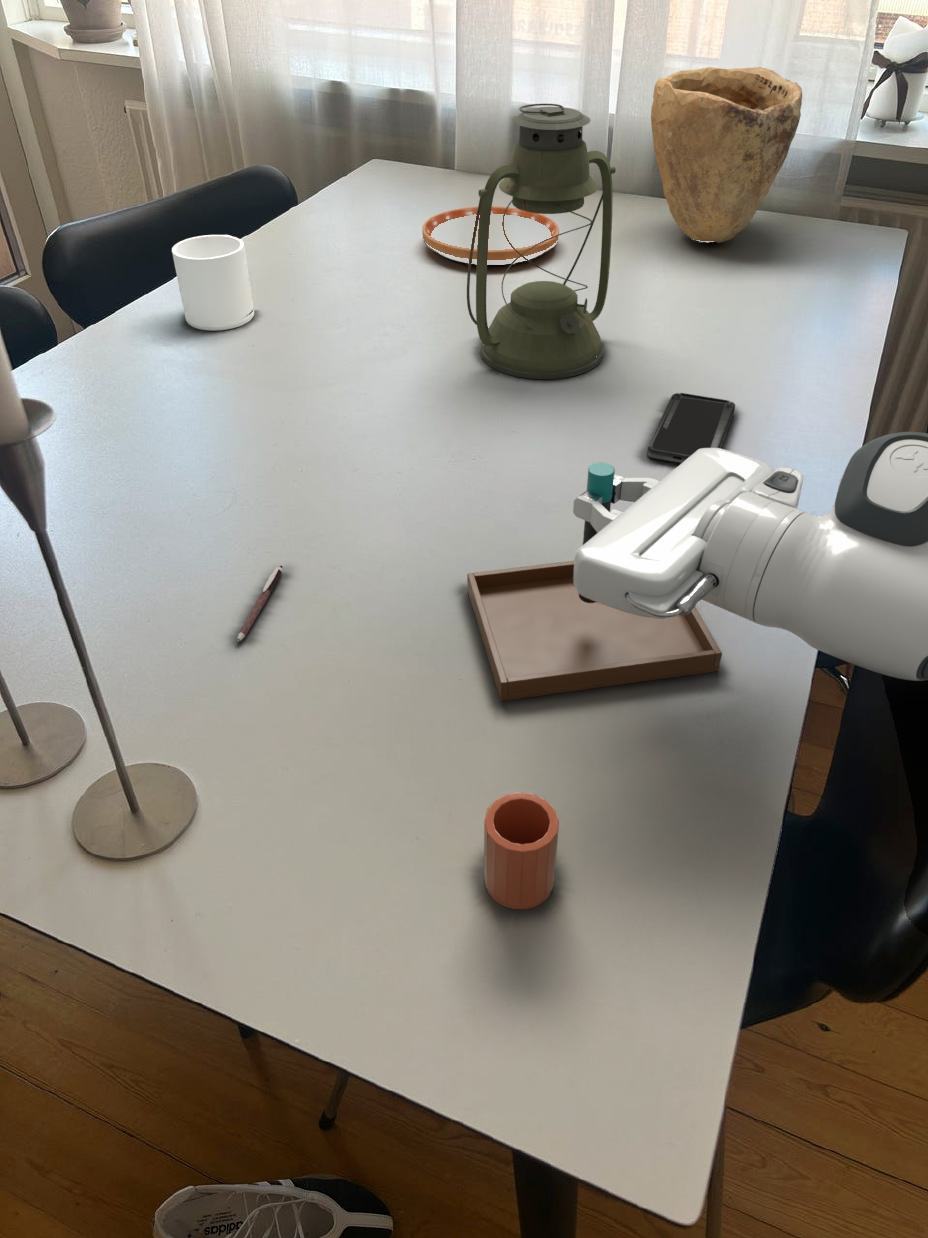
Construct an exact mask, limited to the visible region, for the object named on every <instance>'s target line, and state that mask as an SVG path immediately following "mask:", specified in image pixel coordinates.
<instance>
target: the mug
mask: <svg viewBox="0 0 928 1238" xmlns="http://www.w3.org/2000/svg"><path fill="white" fill-rule="evenodd" d="M171 254H172V259H173V264H174V268H175V273H176V279H177V283H178V288H179V293H180V299H181V303H182V309H183V313H184V319H185V321H186V323H187V324H188V325H189V326H191V327H192V328H194V329H198V330H201V331H210V332H211V331H215V332H217V331H226V330H232V329H236V328H239V327H242V326H244V325H246V324H248V323H249V322H250V321H251V320H252V319H253V318H254V316H255V309H254V310H253V312H252V313H251V314H250V315H248V316H247V317H245V316H246V315H247V314H249V313H250V312H251V310H252V309H253V306H254V301H253V293H252V287H251V280H250V273H249V269H248V264H247V263H248V262H247V256H246V248H245V242H244V241H243V240H242V239H240V238H238V237H237V236H232V235H229V234H207V235H198V236H193V237H188V238H185V239H183V240H181V241H178V242H177V243H175V244H174V245H173V246H172V248H171ZM243 317H245V318H243ZM241 318H243V319H241ZM238 319H241V320H238ZM236 320H238V321H236ZM233 321H235V322H233ZM229 322H231V323H229Z"/></svg>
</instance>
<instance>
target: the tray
mask: <svg viewBox="0 0 928 1238" xmlns="http://www.w3.org/2000/svg"><path fill="white" fill-rule="evenodd" d="M574 561H575V560H568V561H560V562H552V563H551V562H550V563H543V564H535V565H526V566H519V567H509V568H501V569H492V570H485V571H477V572H468V573H467V575H466V577H467V579H466V580H467V581H466V582H467V589H466V591H467V594H468V597H469V600H470V604H471V607H472V610H473V613H474V617H475V620H476V624H477V627H478V631H479V634H480V636H481V640H482V643H483V647H484V650H485V654H486V657H487V661H488V663H489V667H490V670H491V673H492V677H493V680H494V683H495V687H496V690H497V694H498V696H499V700H500V701H501V702H503V701H512V700H519V699H525V698H526V699H527V698H531V697H532V698H533V697H539V696H548V695H555V694H561V693H569V692H577V691H584V690H590V689H597V688H605V687H612V686H620V685H626V684H634V683H642V682H649V681H656V680H662V679H663V680H664V679H670V678H678V677H684V676H691V675H692V676H693V675H699V674H706V673H714V672H719V669H720V665H721V661H722V656H723V652H722V650H721V649H720V646H719V645H718V643H717V642H716V640H715V638H714V636H713V635H712V633H711V631H710V630H709V628H708V626H707V624H706V623H705V621H704V620H703V617H702V616H701V614H700V613H699V611H698V609H697V607H696V606H695V607H694V609H693V610H692V611H691V612H690V613H688V614H687V615H685V616H680V615H677V616H674V617H667V618H665V619H656V618H650V617H643V616H638V615H634V614H631V613H627V612H624V611H621V610H618V609H615V608H612V607H609V606H606V605H603V604H601V603H598V602H596V603H586V602H584V601H582V600H581V599H580V598H579V593H578V591H577V589H576V587H575V585H574V583H573V573H574ZM674 610H675V609H674ZM674 610H673V611H674Z"/></svg>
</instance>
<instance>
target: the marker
mask: <svg viewBox="0 0 928 1238" xmlns="http://www.w3.org/2000/svg"><path fill="white" fill-rule="evenodd" d="M615 472H616V471H615V467H614V466H613V465H612V464H610V463H606V462H594V463H591V464H590V465H589V466H588V469H587V479H586V480H587V481H586V491H590V492H591V493H592V494H597V495H600V496H603V497H602V506H603V507H605V508H606V509H607V510H608V511H609V512H610V511H611V506H612V503H611V499H612V493H613V483H614V474H615ZM583 525H584V526H583V539H582V546H583V545H584V544H585V543H586V542H587V541H589V540H590V539H591V538H592V537H593V536H595V535H596V534H597V531H596V530H595V529H594V528H593V526H592V525H591V523H590V522H588V521H585V520H584V524H583ZM579 598H580V599H581V600H582V601H584V602H586V603H596V602H595V601H593V600H590V599H588V598H585V597H584V596H582V595H580V594H579Z"/></svg>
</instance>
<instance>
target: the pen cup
mask: <svg viewBox="0 0 928 1238" xmlns="http://www.w3.org/2000/svg"><path fill="white" fill-rule="evenodd" d="M483 822H484V823H483V825H484V829H483V837H484V839H483V840H484V841H483V845H484V846H483V864H484V865H483V868H484V869H483V877H484V884H485V889H486V891H487V892H488V894H489V895H490V897H491V898H492V899H493V900H494V901H495V902H496V903H498V904H499V905H500V906H503V907H505V908H507V909H512V910H528V909H532V908H536V907H538V906H539V905H541V904H543V903H544V902H545V901H546V900H547V899H548V898H549V897H550V896H551V893H552V891H553V889H554V884H555V883H554V882H555V876H556V875H555V874H556V865H557V852H558V842H559V841H558V838H559V829H560V828H559V827H560V820H559V817H558V813H557V811H556V809H555V808H554V807H553V806H552V805H551V804H550V802H549V801H547V799H544V798H543V797H541V796H539V795H537V794H534V793H528V792H522V791H521V792H520V791H518V792H513V793H512V792H511V793H506V794H505V795H502V796H501V797H499V798H497V799H495V800H494V801H493V802H492V803H491V804H490V806H489V807H488V808H487V809H486V813H485V816H484V821H483Z"/></svg>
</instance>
